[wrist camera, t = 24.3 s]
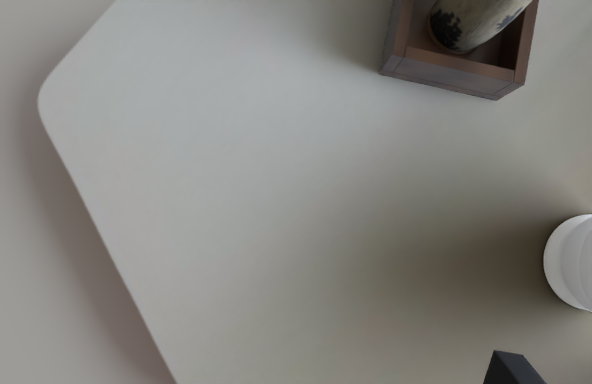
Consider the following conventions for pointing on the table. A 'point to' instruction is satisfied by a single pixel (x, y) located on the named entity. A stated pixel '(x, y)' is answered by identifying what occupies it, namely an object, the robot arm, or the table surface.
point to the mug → (470, 22)
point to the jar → (571, 261)
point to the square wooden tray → (457, 67)
